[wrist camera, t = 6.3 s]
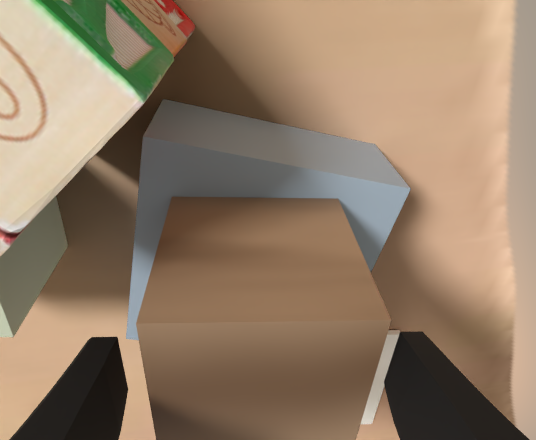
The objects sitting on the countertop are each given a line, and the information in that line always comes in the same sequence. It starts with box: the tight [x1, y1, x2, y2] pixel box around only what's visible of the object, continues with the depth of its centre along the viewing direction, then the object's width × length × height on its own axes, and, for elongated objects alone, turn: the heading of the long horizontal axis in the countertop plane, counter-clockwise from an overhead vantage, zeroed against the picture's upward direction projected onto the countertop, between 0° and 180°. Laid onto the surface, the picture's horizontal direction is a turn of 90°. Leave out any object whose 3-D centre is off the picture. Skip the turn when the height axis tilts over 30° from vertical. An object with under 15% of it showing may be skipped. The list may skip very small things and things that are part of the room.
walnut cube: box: [136, 197, 391, 440], centre depth 11 cm, size 5×5×5 cm
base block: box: [126, 99, 411, 340], centre depth 15 cm, size 8×8×4 cm
